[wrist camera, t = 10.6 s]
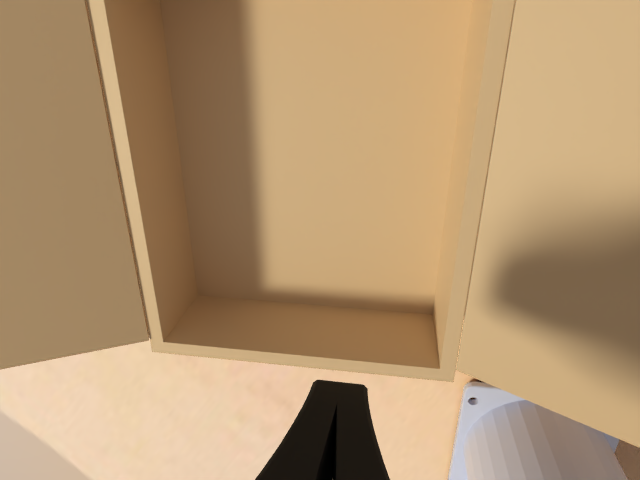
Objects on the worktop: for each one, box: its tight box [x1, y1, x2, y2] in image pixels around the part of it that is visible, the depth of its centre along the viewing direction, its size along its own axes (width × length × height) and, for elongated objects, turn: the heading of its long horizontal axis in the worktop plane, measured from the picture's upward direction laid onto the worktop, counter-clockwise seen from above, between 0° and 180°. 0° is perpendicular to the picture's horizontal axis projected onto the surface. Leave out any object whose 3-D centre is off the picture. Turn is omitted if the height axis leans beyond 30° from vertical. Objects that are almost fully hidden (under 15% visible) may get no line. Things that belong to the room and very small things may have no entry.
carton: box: [86, 0, 515, 382], centre depth 18 cm, size 15×13×4 cm
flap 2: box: [456, 0, 640, 448], centre depth 14 cm, size 6×14×1 cm, turn 179°
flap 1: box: [0, 0, 149, 369], centre depth 16 cm, size 6×14×1 cm, turn 0°
